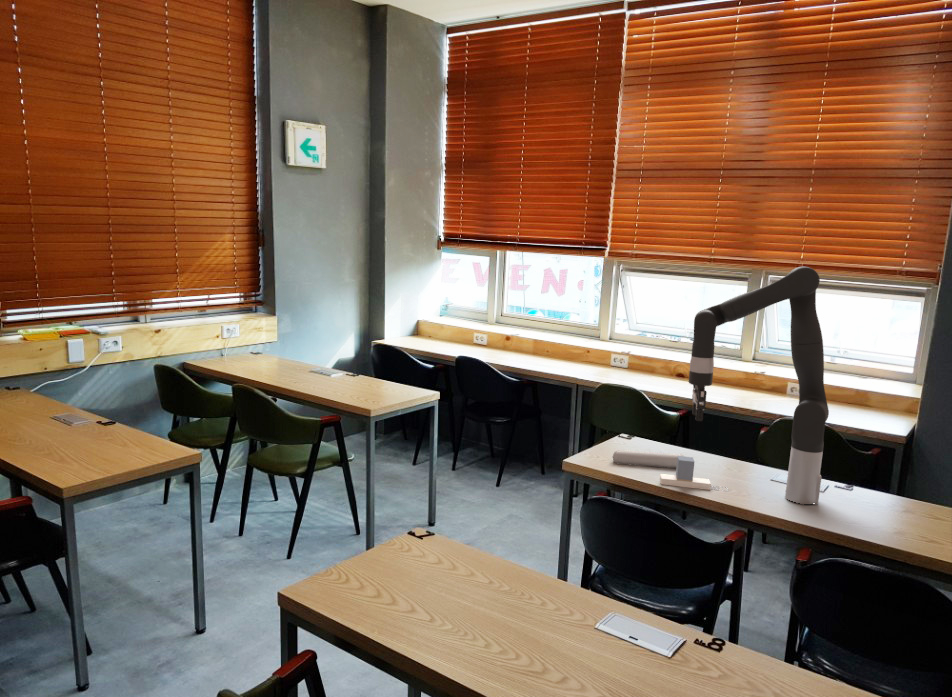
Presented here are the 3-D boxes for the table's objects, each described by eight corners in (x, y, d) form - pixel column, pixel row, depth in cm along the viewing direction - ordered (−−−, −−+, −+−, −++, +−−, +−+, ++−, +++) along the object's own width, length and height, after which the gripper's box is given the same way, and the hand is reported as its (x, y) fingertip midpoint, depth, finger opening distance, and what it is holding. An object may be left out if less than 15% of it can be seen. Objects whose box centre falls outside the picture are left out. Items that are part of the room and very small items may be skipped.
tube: (613, 454, 257) (684, 460, 254) (612, 446, 262) (682, 451, 259) (612, 466, 259) (682, 472, 257) (611, 458, 264) (680, 463, 261)
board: (708, 484, 241) (709, 479, 240) (710, 489, 236) (710, 484, 236) (659, 479, 244) (660, 473, 244) (660, 484, 239) (661, 478, 239)
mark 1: (718, 488, 240) (718, 486, 240) (719, 492, 236) (719, 490, 236) (708, 487, 240) (708, 485, 240) (709, 491, 237) (710, 489, 236)
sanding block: (690, 477, 242) (692, 457, 240) (692, 482, 237) (694, 461, 236) (675, 475, 242) (677, 455, 241) (676, 480, 238) (678, 460, 237)
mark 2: (718, 486, 240) (718, 488, 240) (719, 490, 236) (719, 492, 236) (727, 487, 239) (727, 489, 239) (729, 491, 235) (728, 493, 235)
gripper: (716, 374, 229) (712, 423, 231) (710, 367, 243) (706, 414, 245) (692, 373, 230) (688, 422, 233) (687, 366, 244) (683, 412, 247)
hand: (697, 417), depth 239 cm, fingers open, 8 cm apart
